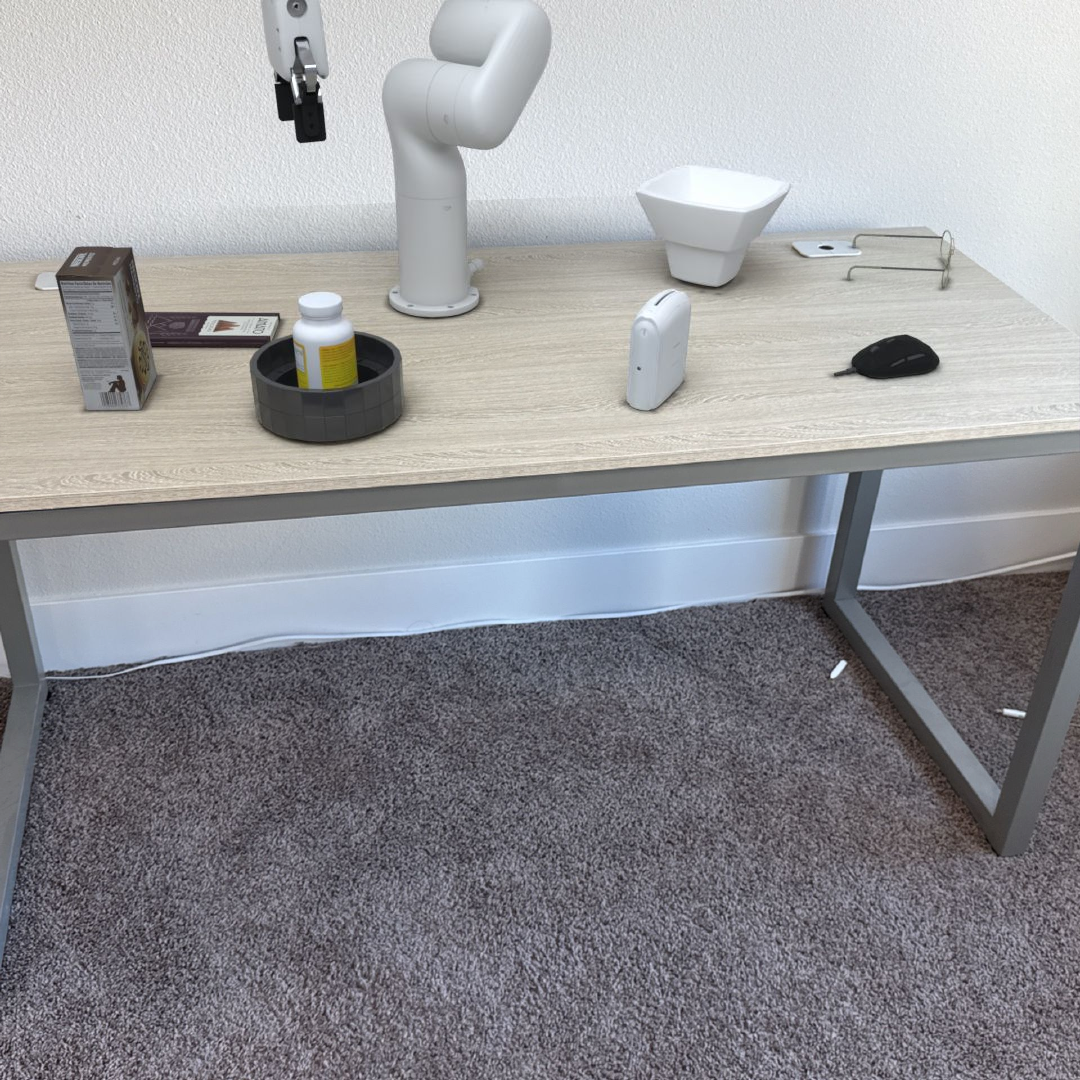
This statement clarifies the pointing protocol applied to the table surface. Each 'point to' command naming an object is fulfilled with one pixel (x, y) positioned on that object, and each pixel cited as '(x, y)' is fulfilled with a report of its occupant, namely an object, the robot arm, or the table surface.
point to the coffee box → (107, 327)
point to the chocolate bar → (211, 328)
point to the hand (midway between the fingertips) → (302, 130)
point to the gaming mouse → (894, 358)
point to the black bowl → (328, 392)
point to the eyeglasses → (908, 268)
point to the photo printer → (658, 349)
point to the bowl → (709, 218)
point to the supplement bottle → (324, 343)
